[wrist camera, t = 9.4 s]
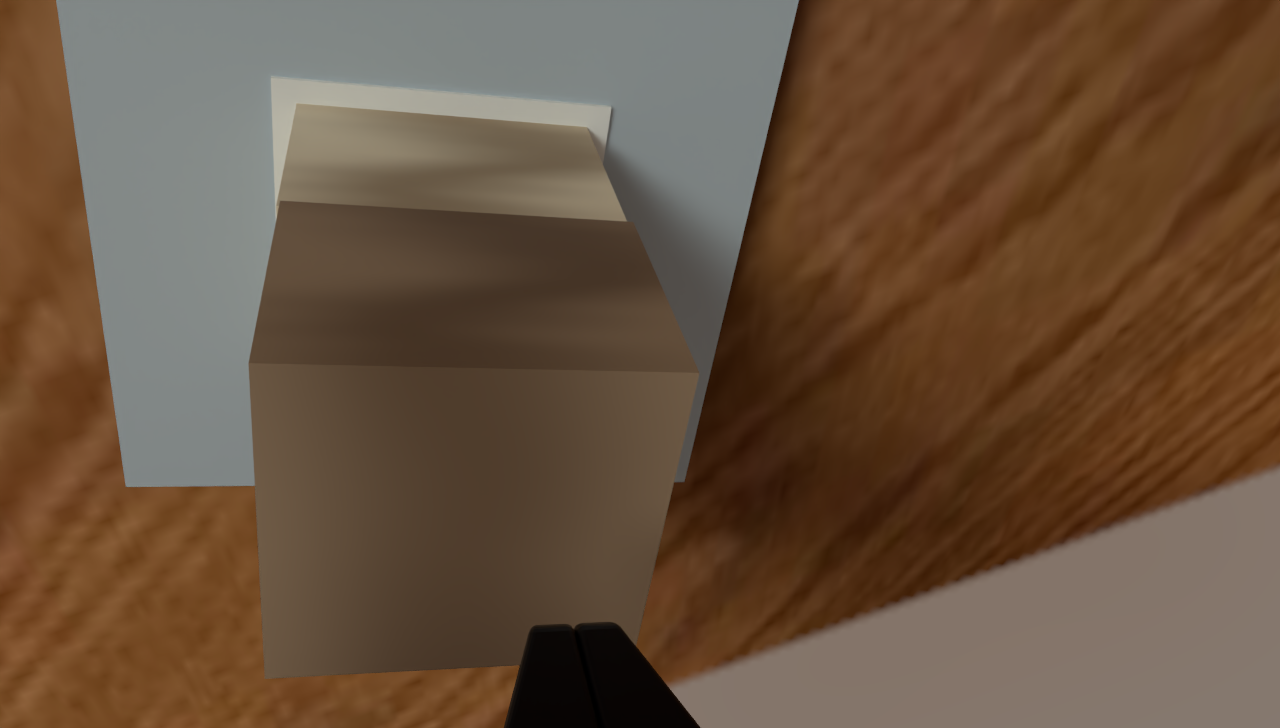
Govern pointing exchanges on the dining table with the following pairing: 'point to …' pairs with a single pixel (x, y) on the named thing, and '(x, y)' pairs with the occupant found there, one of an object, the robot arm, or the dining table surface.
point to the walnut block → (457, 434)
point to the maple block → (445, 164)
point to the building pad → (392, 81)
